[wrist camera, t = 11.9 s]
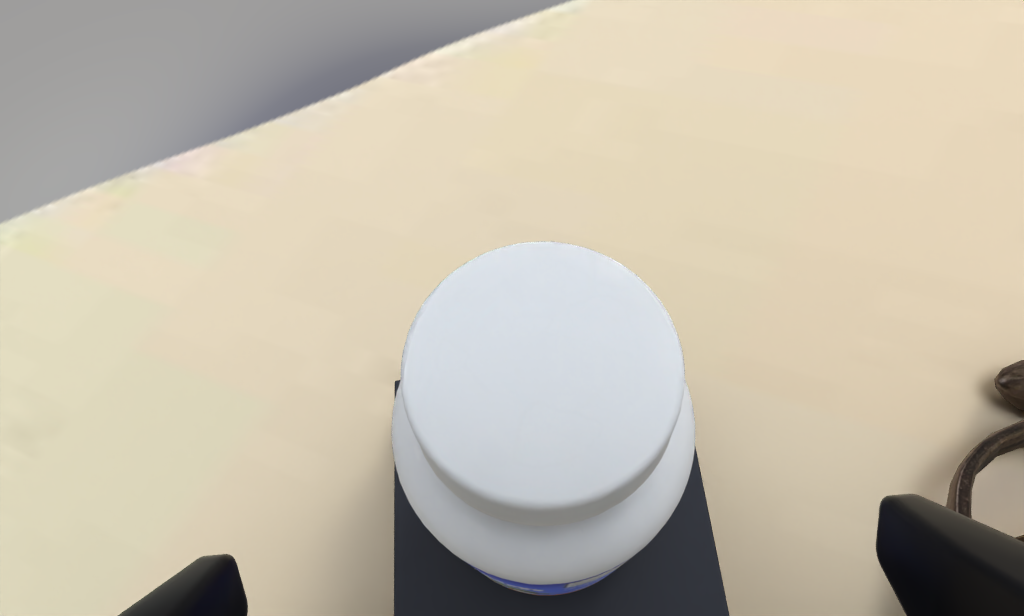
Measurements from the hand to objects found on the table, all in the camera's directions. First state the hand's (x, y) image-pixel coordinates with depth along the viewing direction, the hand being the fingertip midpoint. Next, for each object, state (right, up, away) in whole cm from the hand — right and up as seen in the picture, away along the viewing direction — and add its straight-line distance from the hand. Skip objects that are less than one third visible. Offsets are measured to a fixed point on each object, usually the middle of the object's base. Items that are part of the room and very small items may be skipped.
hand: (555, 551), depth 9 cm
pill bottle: (0, -2, +9) cm, 9 cm away
